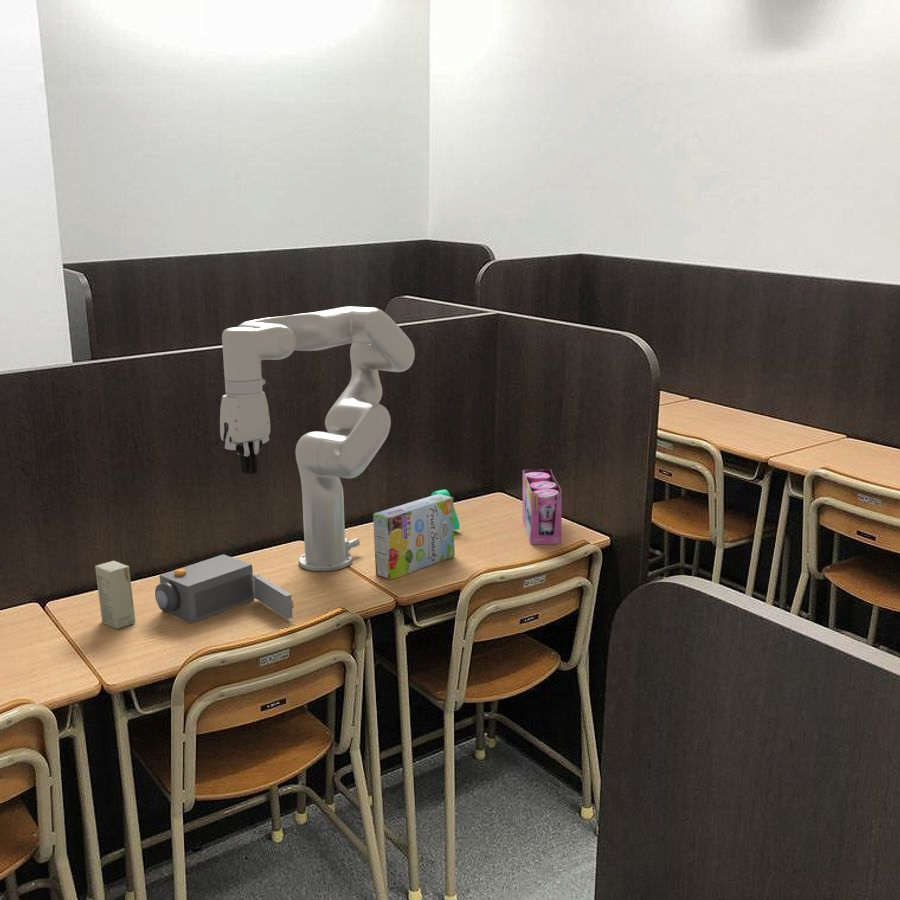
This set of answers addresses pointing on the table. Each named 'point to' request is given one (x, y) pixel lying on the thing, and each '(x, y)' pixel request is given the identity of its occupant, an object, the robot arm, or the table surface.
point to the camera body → (205, 588)
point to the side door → (273, 596)
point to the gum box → (542, 507)
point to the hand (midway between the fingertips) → (249, 472)
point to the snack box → (413, 536)
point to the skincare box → (115, 594)
